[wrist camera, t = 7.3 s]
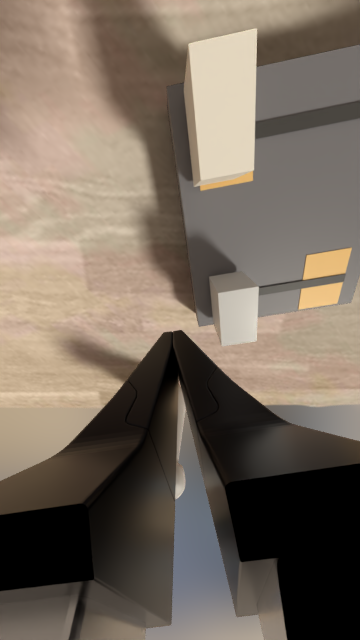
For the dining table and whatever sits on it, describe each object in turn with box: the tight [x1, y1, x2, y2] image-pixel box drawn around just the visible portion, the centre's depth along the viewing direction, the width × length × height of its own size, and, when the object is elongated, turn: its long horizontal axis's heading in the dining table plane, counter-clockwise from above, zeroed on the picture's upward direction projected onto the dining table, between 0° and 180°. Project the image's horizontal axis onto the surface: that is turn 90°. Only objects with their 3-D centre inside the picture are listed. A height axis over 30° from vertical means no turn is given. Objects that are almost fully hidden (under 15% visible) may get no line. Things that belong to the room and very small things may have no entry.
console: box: [167, 45, 360, 327], centre depth 18 cm, size 16×18×3 cm
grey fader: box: [209, 271, 259, 346], centre depth 17 cm, size 3×5×4 cm, turn 9°
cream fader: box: [184, 28, 257, 187], centre depth 12 cm, size 3×5×4 cm, turn 9°
